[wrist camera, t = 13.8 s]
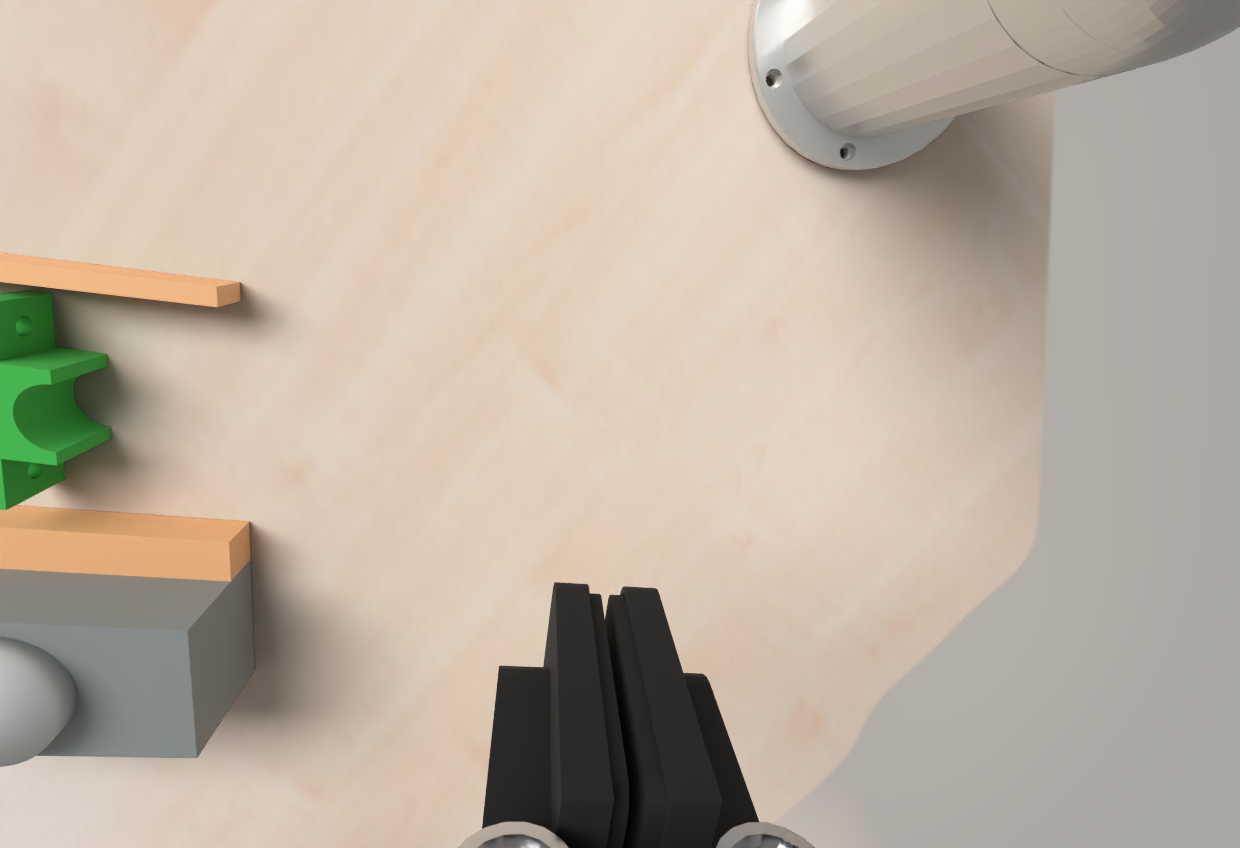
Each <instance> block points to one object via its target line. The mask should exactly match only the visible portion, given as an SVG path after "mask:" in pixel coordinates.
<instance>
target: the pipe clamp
mask: <svg viewBox="0 0 1240 848" xmlns="http://www.w3.org/2000/svg"><path fill="white" fill-rule="evenodd" d="M104 367H108V366H107V354H104V353H97V352H90V351H83V350H77V349H70V348H63V347H56V342H55V328H54V314H53V300H52V294H50V293H44V292H37V291H31V290H27V291H19V292H11V293H3V294H0V510H8V509H10V508H11V507H13V506H15V505H17V504H19V503H21V502H23V501H25V500H27V499H28V498H30V497H32V496H34V495H36V494H38V493H40V492H42V491H44V490H45V489H47V488H49V487H51V486H53V485H55V484H57V483H59V482H61V481H62V480H64V479H65V468H64V462H65V461H67V460H69V459H71V458H73V457H75V456H77V455H79V454H81V453H83V452H86V451H88V450H90V449H92V448H94V447H96V446H98V445H100V444H102V443H104V442H106V441H108V440H110V439H111V428H110V427H107V426H103V425H100V424H98V423H96V422H94V421H92V420H91V419H89V418H88V417H87V416H85V415H84V414H83V413H82V411H81V410H80V409H79V407H78V406H77V404H76V401H75V399H74V394H73V388H74V383H75V381H76V379H77V377H78V376H80V375H83V374H86V373H89V372H92V371H95V370H98V369H101V368H104Z"/></svg>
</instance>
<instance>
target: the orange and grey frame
mask: <svg viewBox="0 0 1240 848" xmlns="http://www.w3.org/2000/svg"><path fill="white" fill-rule="evenodd" d="M0 282H5V283H14V284H22V285H31V286H39V287H48V288H57V289H65V290H74V291H82V292H91V293H99V294H108V295H117V296H125V297H134V298H142V299H151V300H159V301H168V302H177V303H185V304H194V305H202V306H211V307H220V306H224V305H228V304H232V303H236V302H240V301H241V292H240V282H234V281H226V280H218V279H210V278H202V277H194V276H185V275H177V274H169V273H161V272H153V271H145V270H137V269H128V268H120V267H112V266H104V265H96V264H88V263H80V262H72V261H63V260H55V259H47V258H39V257H31V256H23V255H15V254H6V253H0ZM254 670H255V659H254V633H253V607H252V580H251V554H250V528H249V522H247V521H233V520H218V519H204V518H189V517H175V516H161V515H146V514H132V513H118V512H103V511H89V510H74V509H60V508H46V507H31V506H17V505H15V506H13V507H11V508H10V509H8V510H0V767H2V766H10V765H14V764H18V763H21V762H24V761H27V760H29V759H31V758H33V757H34V756H97V757H159V758H197V757H198V756H199V754H200V753H201V751H202V750H203V748H204V747H205V745H206V743H207V742H208V740H209V739H210V737H211V736H212V734H213V733H214V731H215V730H216V728H217V727H218V725H219V724H220V722H221V720H222V719H223V717H224V716H225V714H226V713H227V711H228V710H229V708H230V707H231V705H232V704H233V702H234V701H235V699H236V697H237V696H238V694H239V693H240V691H241V690H242V688H243V687H244V685H245V684H246V682H247V681H248V679H249V678H250V676H251V674H252V673H253V671H254Z"/></svg>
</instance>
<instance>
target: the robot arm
mask: <svg viewBox="0 0 1240 848" xmlns="http://www.w3.org/2000/svg"><path fill="white" fill-rule="evenodd" d="M1239 27H1240V0H754V3H753V8H752V14H751V19H750V25H749V41H748V58H749V64H750V71H751V77H752V83H753V86H754V89H755V92H756V95H757V98H758V101H759V104H760V106H761V108H762V110H763V112H764V113H765V115H766V117H767V119H768V121H769V122H770V124H771V126H772V127H773V128H774V130H775V131H776V132H777V133H778V134H779V136H780V137H781V138H782V139H783V140H784V141H785V143H786V144H788V145H789V146H790V147H792V148H793V149H794V150H795V151H797V152H798V153H799V154H800V155H802V156H803V157H805V158H807V159H809V160H812V161H814V162H816V163H818V164H820V165H822V166H827V167H831V168H835V169H840V170H866V169H872V168H879V167H883V166H886V165H889V164H892V163H896V162H899V161H902V160H904V159H905V158H907V157H909V156H911V155H913V154H915V153H916V152H918V151H920V150H922V149H923V148H924V147H926V146H927V145H928V144H929V143H931V142H932V141H933V140H934V139H936V138H937V137H938V136H939V135H940V134H941V133H942V132H943V131H944V130H945V129H946V128H947V127H948V126H949V125H950V124H951V122H952V121H953V120H954V119H955V118H956V116H958V115H962V114H966V113H970V112H974V111H977V110H981V109H985V108H989V107H993V106H997V105H1000V104H1004V103H1008V102H1012V101H1016V100H1019V99H1023V98H1027V97H1031V96H1035V95H1039V94H1042V93H1046V92H1050V91H1054V90H1058V89H1061V88H1065V87H1069V86H1073V85H1077V84H1080V83H1084V82H1088V81H1092V80H1096V79H1099V78H1103V77H1107V76H1111V75H1115V74H1119V73H1122V72H1126V71H1130V70H1134V69H1136V68H1140V67H1144V66H1148V65H1151V64H1155V63H1158V62H1162V61H1165V60H1168V59H1171V58H1174V57H1177V56H1180V55H1182V54H1185V53H1188V52H1191V51H1194V50H1196V49H1198V48H1200V47H1203V46H1205V45H1207V44H1209V43H1211V42H1213V41H1215V40H1217V39H1219V38H1221V37H1223V36H1225V35H1227V34H1229V33H1231V32H1232V31H1234V30H1235V29H1237V28H1239ZM766 77H770V78H771V79H772V85H771V86H770V87H769V86H768V85H767V83H766ZM840 149H843V151H844V156H843V158H841V156H840ZM459 848H815V847H814V846H813V845H811V844H810V843H809V842H808V841H807V840H806V839H804V838H803V837H801V836H799V835H797V834H795V833H794V832H792V831H790V830H788V829H786V828H784V827H781V826H777V825H774V824H770V823H767V822H759V820H758V817H757V814H756V811H755V809H754V806H753V803H752V800H751V797H750V795H749V792H748V789H747V786H746V783H745V781H744V778H743V775H742V772H741V769H740V767H739V764H738V761H737V758H736V755H735V753H734V750H733V747H732V744H731V741H730V739H729V736H728V733H727V730H726V727H725V725H724V722H723V719H722V716H721V713H720V711H719V708H718V705H717V702H716V699H715V697H714V694H713V691H712V688H711V685H710V683H709V681H708V679H707V677H706V676H705V675H704V674H695V673H683V671H682V667H681V664H680V661H679V658H678V654H677V651H676V648H675V644H674V641H673V638H672V635H671V631H670V628H669V625H668V622H667V618H666V615H665V612H664V609H663V605H662V602H661V599H660V595H659V592H658V590H657V589H656V588H641V587H623V588H622V590H621V594H620V595H610V596H609V599H608V604H607V611H606V617H605V619H604V612H603V605H602V599H601V595H600V594H590V593H589V586H588V584H574V583H558V582H555V583H554V587H553V593H552V601H551V609H550V617H549V626H548V634H547V642H546V650H545V658H544V666H543V667H518V666H499V673H498V682H497V692H496V702H495V711H494V721H493V730H492V740H491V749H490V759H489V768H488V778H487V787H486V797H485V806H484V816H483V825H482V830H480V831H478V832H477V833H475V834H474V835H472V836H470V837H469V838H467V839H466V840H465V841H464V842H463V843H462V844H461V845H460V847H459Z"/></svg>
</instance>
